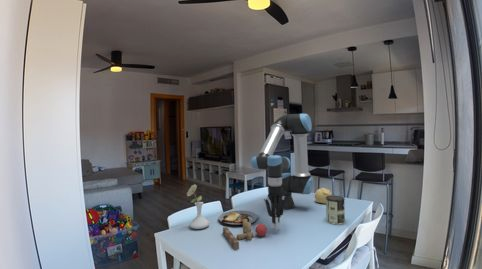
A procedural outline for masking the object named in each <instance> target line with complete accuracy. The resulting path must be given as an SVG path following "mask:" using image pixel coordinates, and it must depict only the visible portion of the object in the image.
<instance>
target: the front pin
mask: <svg viewBox="0 0 482 269" xmlns="http://www.w3.org/2000/svg"><path fill="white" fill-rule="evenodd" d="M254 236H255V233H254V232H253V231H251V238H254ZM236 239H237V240H238V241H239V240H244V239H247V233H245V234H243V233H240V234H236Z"/></svg>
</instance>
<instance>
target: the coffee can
mask: <svg viewBox="0 0 482 269" xmlns="http://www.w3.org/2000/svg"><path fill="white" fill-rule="evenodd" d="M345 199H346V198H345V197H344V196H341V195H336V194H335V195H333V194H332V195H331V196H326V204H325V205H326V209H325V211H326V212H325V214H326V220H325V221H326V222H327V223H329V224H332V225H343V224H345V223H346V221H345V220H346V218H345V215H346V214H345V212H346V211H345V209H346V208H345Z"/></svg>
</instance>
